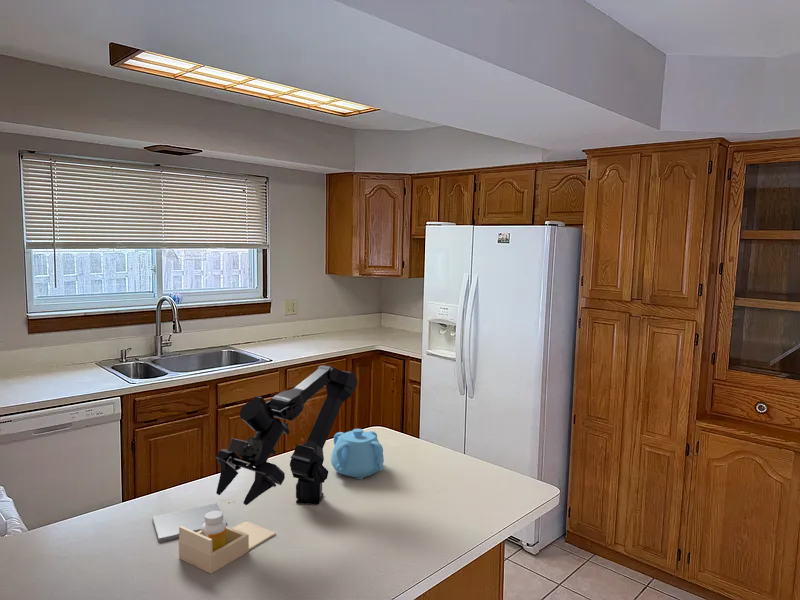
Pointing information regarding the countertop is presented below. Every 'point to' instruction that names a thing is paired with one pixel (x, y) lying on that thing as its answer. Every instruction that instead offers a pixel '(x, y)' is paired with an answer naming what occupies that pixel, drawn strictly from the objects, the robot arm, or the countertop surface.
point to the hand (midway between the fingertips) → (231, 499)
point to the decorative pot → (357, 453)
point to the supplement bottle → (215, 529)
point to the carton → (237, 543)
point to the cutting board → (181, 521)
